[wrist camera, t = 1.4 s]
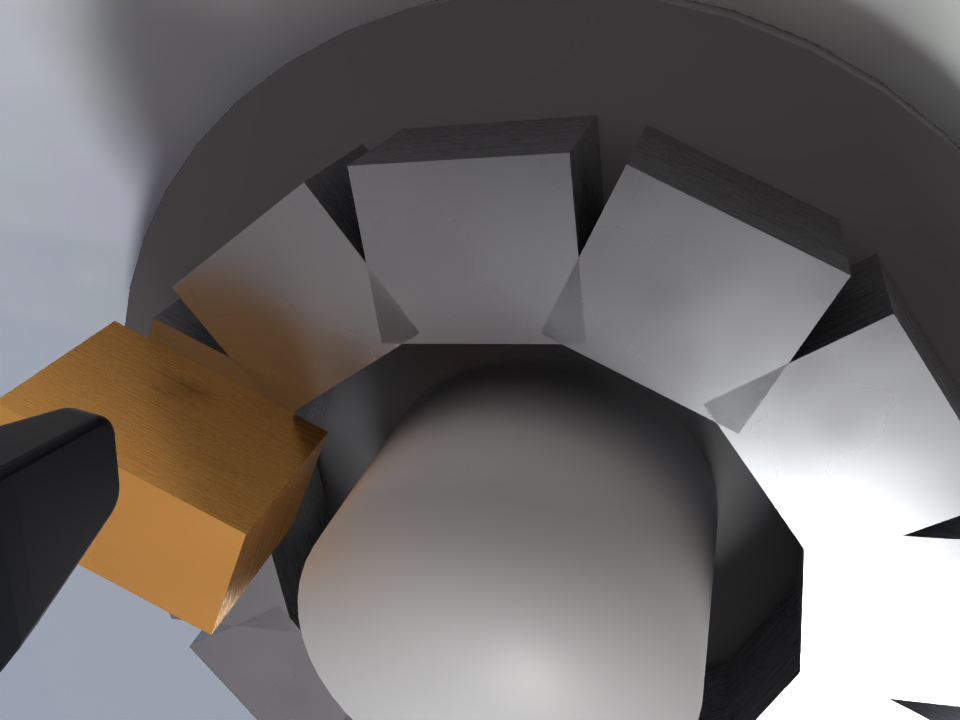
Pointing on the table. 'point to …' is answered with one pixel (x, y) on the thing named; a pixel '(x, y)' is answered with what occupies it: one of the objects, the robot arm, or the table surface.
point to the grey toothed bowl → (541, 320)
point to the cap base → (626, 93)
